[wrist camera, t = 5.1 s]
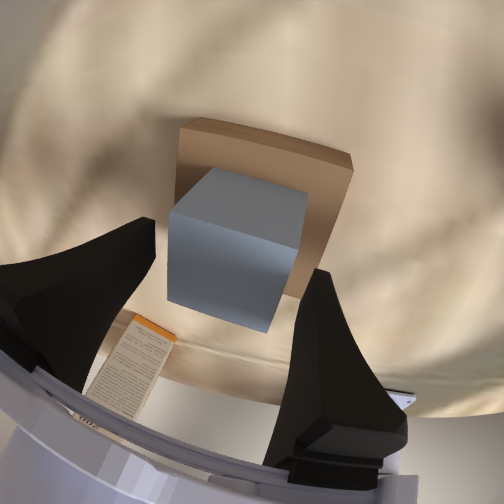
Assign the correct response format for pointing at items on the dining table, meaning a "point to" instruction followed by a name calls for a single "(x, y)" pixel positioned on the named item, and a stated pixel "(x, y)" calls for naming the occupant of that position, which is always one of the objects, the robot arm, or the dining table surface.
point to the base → (271, 178)
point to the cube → (234, 247)
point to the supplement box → (130, 371)
